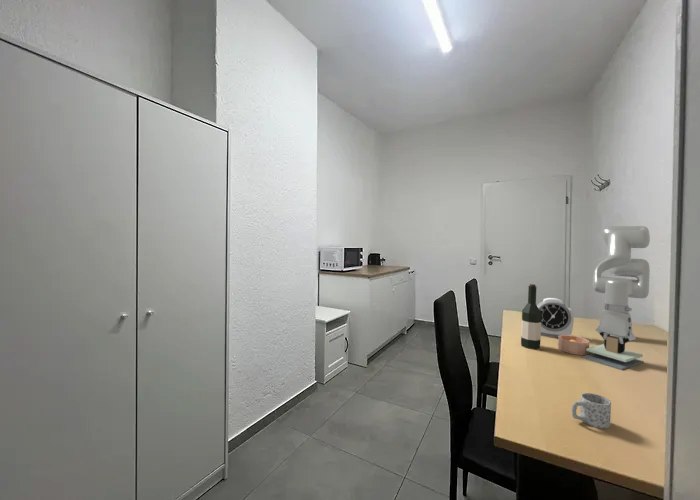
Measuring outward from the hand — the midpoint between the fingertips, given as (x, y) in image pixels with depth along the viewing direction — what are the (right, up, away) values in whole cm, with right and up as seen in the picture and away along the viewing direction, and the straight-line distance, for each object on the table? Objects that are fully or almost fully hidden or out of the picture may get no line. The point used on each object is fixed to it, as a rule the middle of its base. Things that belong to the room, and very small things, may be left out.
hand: (614, 350), depth 133 cm
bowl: (-10, -4, +11) cm, 15 cm away
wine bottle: (-27, -4, +16) cm, 31 cm away
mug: (-46, -6, -46) cm, 66 cm away
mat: (-1, -4, 0) cm, 4 cm away
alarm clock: (-5, -3, +33) cm, 34 cm away
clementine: (-10, -1, +11) cm, 15 cm away
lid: (0, -2, 0) cm, 2 cm away
